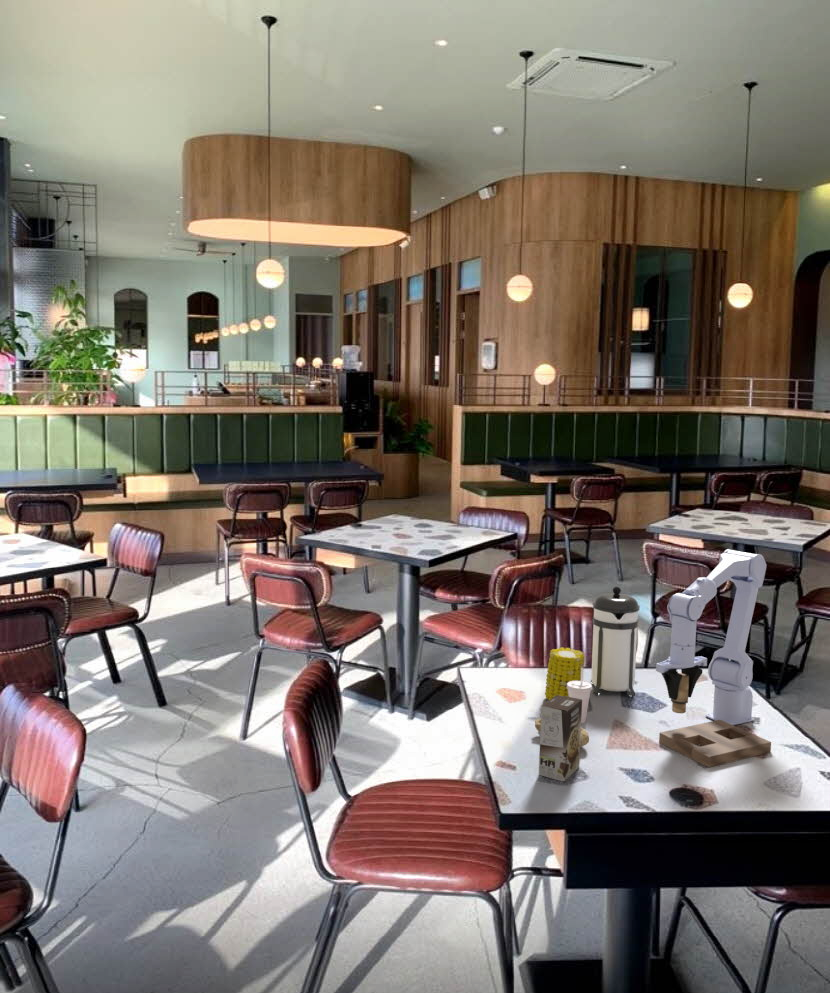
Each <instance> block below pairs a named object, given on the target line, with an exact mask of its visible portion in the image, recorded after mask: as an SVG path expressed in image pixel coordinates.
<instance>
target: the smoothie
mask: <svg viewBox="0 0 830 993" xmlns="http://www.w3.org/2000/svg"><path fill="white" fill-rule="evenodd" d="M583 668H584V667H583ZM583 668H581V681H570V682H568V683H567V689H568V695H569V697H572V698H577V699H581V700H582V715H581V724H584V723H586V719H587V712H588V708H589V700H590V695H591V691H592V690H593V685H592V684H591V682H587V681H584V669H583Z"/></svg>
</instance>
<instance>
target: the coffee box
mask: <svg viewBox="0 0 830 993" xmlns="http://www.w3.org/2000/svg"><path fill="white" fill-rule="evenodd" d="M540 711H541V712H540V719H541V729H540V732H539V756H538V757H539V758H538V776H542V777H545V778H548V779H553V780H556V781H559V782H565V781H566V780H568V779H569V778H570V777H571V776H572V775H573V774H574V773H575V772H576V771H577V770H578V769H579V768H580V761H581V759H580V757H581V747H580V738H581V727H582V723H581V715H582V700H581V699H577V698H572V697H566V696H560V695H556V696H555V697H553V698H552V699H550V700H549V699H548V700H547V701H546V702H544V703H543V704H541V709H540Z"/></svg>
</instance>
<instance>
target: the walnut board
mask: <svg viewBox="0 0 830 993" xmlns="http://www.w3.org/2000/svg"><path fill="white" fill-rule="evenodd" d="M658 743H659V744H661V745H663V746H665V747H667V748H669V749H671V750H673V751H674V752H677V753H678V754H681V755H683V756H685V757H687V758H689V759H691V760H693V761H695V762H697V763H698V764H701V765H703V766H704V767H706V768H712V767H716V766H720V765H724V764H728V763H732V762H736V760H737V761H740V759H741V760H745V759H748V758H753V757H756V756H760V755H763V754H764V755H765V754H770V753H771V751H772V750H771V749H772V741H770V740H767V739H765V738H763V737H761V736H759V735H756V734H754V733H752V732H749V731H747V730H744V729H743V728H740V727H738V726H737V725H731V724H729V723H727V722H724V721H722V720H716V721H715V720H711V721H708V722H702V723H698V724H693V725H689V726H685V727H680V728H676V729H671V730H670V729H669V730H666V731H661V732H659V735H658Z"/></svg>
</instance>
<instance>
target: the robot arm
mask: <svg viewBox="0 0 830 993" xmlns="http://www.w3.org/2000/svg"><path fill="white" fill-rule="evenodd" d="M718 561H719V562H718V564H717V565H716V566H715V568H714V569H713V570H712V571H711V572H709V574H708V575H707V576H706V577H704V576H702V577H698V578H696V580H695V581H693V583H691V584H690V585H689V586H688V587H687V588H686V589H684V591H681V592H677V593H675V594H673V595H671V597H670V598H669V600H668V604H667V606H666V607H667V613H668V614H669V622H670V623H671V631H670V632H671V634H670V650H669V651H670V652H669V656H668V657H667V659H666V660H663V661H660V662H657V663H656V664H655V665H656V666H655V671H656V672H658V673H660V674H661V675H662V678H663V680H664V682H665V685H666V689H667V690H666V691H667V694H668V698H669V699H670V700H671V699H673V700H677V697H678V689H679V684H680V681H681V678H682V676H683V675H682V674H679V673H684V674H687V675H689V687H688V698H692V696H693V692H694V689H695V686H696V684H697V682H698V680H699V679H700V677H701V676H702V674H703V669H702V668H700V667H701V666H702V667H707V666H708V669H707V674H708V678H709V679H710V680H711V682H712V685H714V693H713V710H712V712H711V713H706V714H705V717H706V718H708V719H711V721H716V720H722V721H724V722H727V723H729V724H731V725H733V726H737V725H740V724H745V723H748V722H753V721H755V718H753V717H752V714H753V713H752V710H753V700H754V699H753V698H754V696H753V692H752V690H751V688H750V687H749V686H750V685H751V684H752V681H753V678H754V677H753V675H754V673H753V665H754V660H752V658H751V657H750V656H749V655H748V654H747V653H746V649H747V648H746V647H747V643H748V638H749V633H750V629H751V624H752V620H753V619H752V618H753V617H754V616H753V615H754V610H755V606H756V601H757V597H758V592H759V588H761V587H763V583H764V580H765V576H766V571H767V563H766V560H765V558H764V556H763V555H762V554H761V553H760V554H759V553H751V552H745V551H739V550H735V549H731V548H727V549H725V550H724V551H723V552H722V553H721V554H720V557H719V560H718ZM727 581H731V582H732V583H733V584H734V585H735V587H736V589H735V595H734V600H733V604H732V609H731V613H730V617H729V622H728V627H727V631H726V636H725V642H724V646H723V647H721V648H720V649H717V650H715V651H714V652H713V656H712V659H711V661H710V663H709V664H708V658H707V657H704V656H702V655H701V656H699V655H698V656H696V639H697V638H696V636H697V620H698V619H700V617H701V616H702V614H703V610H705V607H706V605H707V604H708V603H709V602H710V601H711V600H712V599H713V598H714V597H715V596H716V595H717V593H718V589H717V588H719V587H720V586H721V585H723V584H725V583H726V582H727ZM678 670H680V671H681V672H678Z"/></svg>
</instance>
